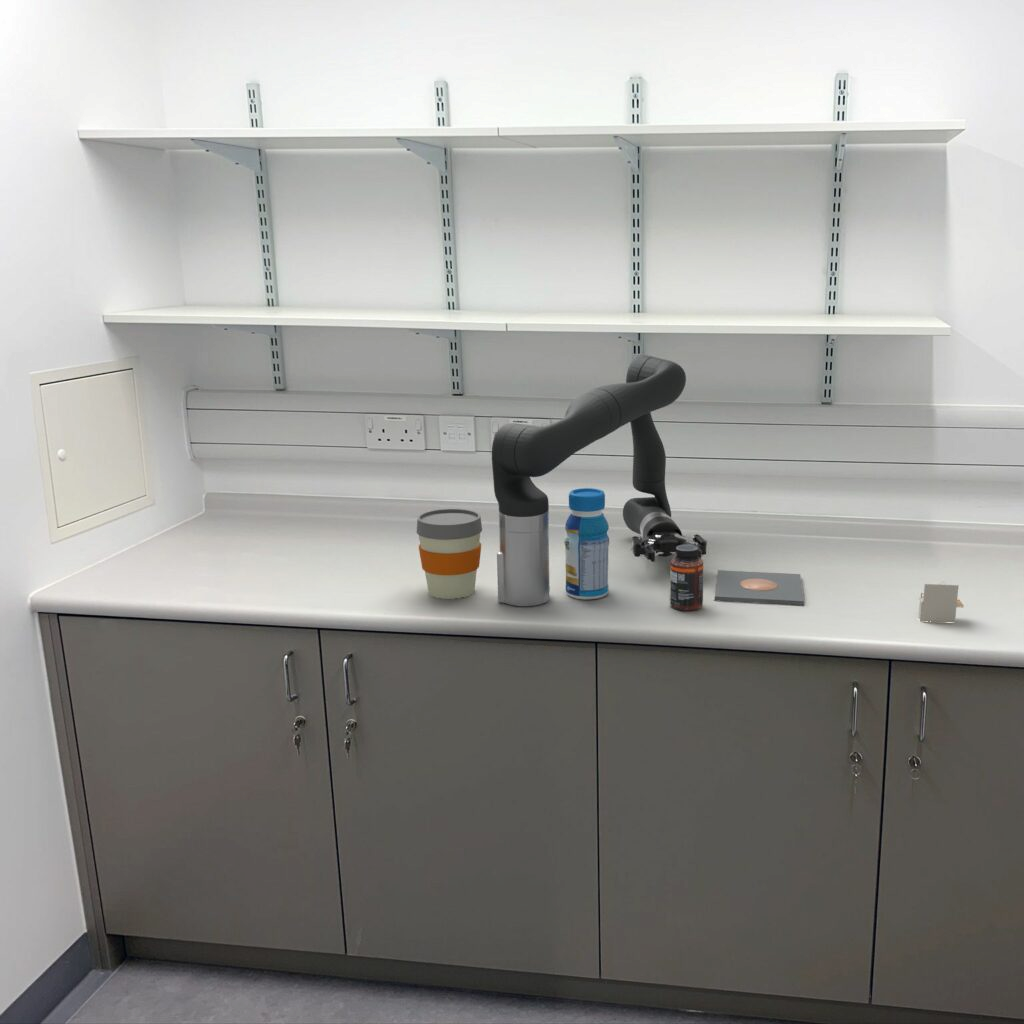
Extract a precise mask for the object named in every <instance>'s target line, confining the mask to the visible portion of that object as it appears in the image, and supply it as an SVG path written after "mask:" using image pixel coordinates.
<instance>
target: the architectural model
mask: <svg viewBox="0 0 1024 1024" xmlns="http://www.w3.org/2000/svg"><path fill="white" fill-rule="evenodd" d="M958 594H959V585H958V584H946V583H945V582H944V581H941V582H940V583H938V584H937V583H924V588H923V592H920V597H919V598H918V601H919V605H918V616H917V617H918V618H919V619H920V621H928V622H927V623H929V622H930V621H931V622H955V623H956V617H957V616H956V615H957V608H963V609H964V604H963V603H962V602H963V601H961V600H960V599H958V596H959V595H958ZM918 618H917V619H918ZM919 619H918V620H919ZM920 621H919V622H920Z"/></svg>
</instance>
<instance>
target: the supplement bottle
mask: <svg viewBox="0 0 1024 1024" xmlns="http://www.w3.org/2000/svg"><path fill="white" fill-rule="evenodd" d="M669 575H670V576H669V577H670V581H669V583H670V585H669V587H670V589H669V590H670V591H669V595H670V596H669V601H670V602H669V603H670V606H671V607H672V609H676V610H678V611H679V610H680V611H684V612H686V611H688V612H689V611H696V610H699V609H701V607H702V606H703V604H704V603H703V601H704V561H703V560H702V557H701V558H699V557H698V547H697V546H694V545H679V546H677V547H676V553H675V556H674V557H673V558H671V561H670V574H669Z"/></svg>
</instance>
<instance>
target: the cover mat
mask: <svg viewBox="0 0 1024 1024" xmlns="http://www.w3.org/2000/svg"><path fill="white" fill-rule="evenodd" d="M801 576H802V575H801V573H785V572H784V573H782V572H765V571H763V572H762V571H745V570H743V571H742V570H726V569H725V570H724V569H721V570H720V569H719V570H717V574H716V583H715V592H714V601H716V600H721V601H720V602H734V601H739V602H738V603H752V602H757V603H756V604H770V603H775V604H774V605H789V604H797V605H796V606H804V604H805V599H804V593H803V584H802V577H801ZM722 600H724V601H722ZM758 602H759V603H758ZM778 603H779V604H778Z"/></svg>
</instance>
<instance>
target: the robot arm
mask: <svg viewBox="0 0 1024 1024" xmlns="http://www.w3.org/2000/svg"><path fill="white" fill-rule="evenodd" d="M625 376H626V379H625V382H623V383H611V384H606V385H600V386H597V387H595V388H593V389H591V390H588V391H587V392H585V393H582V394H581V395H578V396H577V397H576V398H573V400H572V401H571V402H570V403H569V405H568V407H567V409H566V410H565V414H564V417H563V418H562V419H560V420H558V421H556V422H553V423H550V424H547V425H543V426H539V425H537V426H536V425H529V424H524V423H523V424H521V423H514V422H512V423H511V422H510V423H509V422H508V423H505V424H503V425H501V426H500V427H499V428H498V430H497V431H496V433H495V435H494V436H493V441H492V445H491V466H492V467H491V468H492V469H491V470H492V479H493V480H492V481H493V491H494V492H493V493H494V496H495V499H496V501H497V505H498V520H499V521H498V528H499V531H498V532H499V533H498V534H499V550H498V552H497V553H496V564H497V565H496V566H497V568H496V569H497V571H496V572H497V602H498V603H504V604H507V605H510V606H517V607H533V606H540V605H542V604H545V603H547V602H548V601H549V600H550V597H551V596H550V592H551V591H550V589H551V586H550V531H549V529H550V528H549V527H550V521H549V520H550V517H549V515H550V514H549V507H550V506H549V503H550V502H549V497H548V495H547V494H546V492H544V491H542V490H541V489H540V488H539V487H537V485H535V484H534V482H533V481H532V479H531V478H538V477H542V476H544V475H547V474H549V473H550V472H553V470H554V469H556V468H557V467H558V466H560V465H562V464H563V462H565V461H566V460H567V459H569V458H570V457H572V456H573V455H574V454H575V453H577V452H579V451H580V450H582V449H584V448H586V447H588V446H589V445H591V444H592V443H594V442H596V441H598V440H600V439H603V438H605V437H606V436H608V435H610V434H612V433H613V432H615V431H617V430H618V429H620V428H622V427H623V426H625V425H627V424H629V423H630V427H631V435H632V445H633V446H632V448H633V450H632V451H633V452H632V454H633V458H632V487H633V488H634V489H635V490H636V491H638V492H640V493H644V494H649V495H652V496H653V497H652V496H651V497H649V496H645V497H633V498H630V499H628V500H627V501H626V502H625V503H624V506H623V509H622V517H623V521H624V524H625V525H626V527H627V528H628V529H629V530H631V531H632V532H634V533H636V534H639V535H640V538H639V536H636V535H635V536H632V538H631V539H632V541H631V547H632V548H631V550H632V553H633V555H634V557H635V558H636V557H637V558H639V557H641V556H642V555H643V557H644V558H645V559H646V560H649V562H650V563H655V562H656V557H660V558H661V557H662V558H663V557H664V558H665V557H669V556H672V555H676V547H677V546H679V545H694V546H697V547H698V557H699V558H701V559H702V556H705V555H707V544H708V543H707V541H706V540H705V539H704V538H703V537H702V535H700V534H694V535H693V537H692V538H690V537H686V536H685V535H683V532H682V531H681V529H680V527H679V526H678V525H677V523H676V522H675V521H674V519H673V518H672V510H671V509H672V508H671V506H670V502H669V499H668V496H667V491H666V464H667V463H666V461H667V456H666V451H665V446H664V444H663V441H662V438H661V437H660V434H659V431H658V430H657V428H656V426H655V423H654V420H653V417H652V413H651V412H654V411H657V410H659V409H662V408H665V407H669V406H670V405H671V404H673V403H674V402H675V401H676V400H677V399H678V398H680V396H681V395H682V393H683V391H684V389H685V387H686V383H687V375H686V372H685V370H684V369H683V367H682V366H681V365H680V364H679V363H676V362H674V361H672V360H667V359H664V358H660V357H656V356H651V355H647V354H640V355H637V356H636V357H635V358H634V359H632V361H631V362H630V363H629V366H628V368H627V372H626V375H625Z"/></svg>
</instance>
